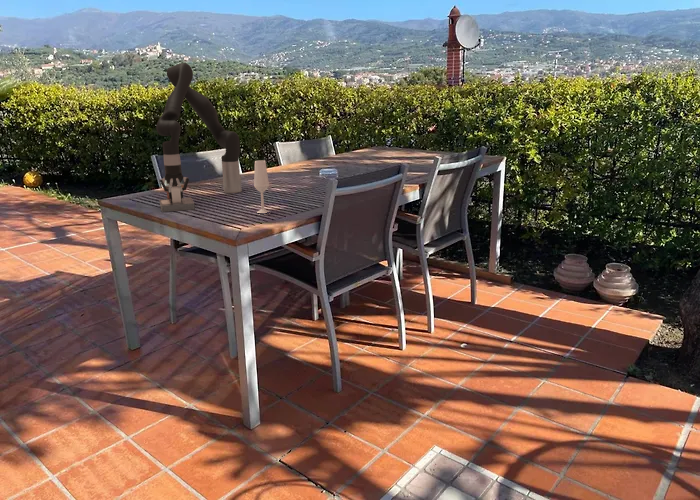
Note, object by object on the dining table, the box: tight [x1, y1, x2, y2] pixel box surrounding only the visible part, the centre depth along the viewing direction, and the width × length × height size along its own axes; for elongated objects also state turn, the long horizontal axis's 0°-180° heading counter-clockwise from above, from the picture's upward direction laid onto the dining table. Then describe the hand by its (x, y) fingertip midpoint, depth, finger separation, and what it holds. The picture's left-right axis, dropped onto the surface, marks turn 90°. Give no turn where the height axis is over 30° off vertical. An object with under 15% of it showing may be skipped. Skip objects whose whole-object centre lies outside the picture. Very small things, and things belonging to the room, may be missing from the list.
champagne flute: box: [253, 159, 270, 213], centre depth 233 cm, size 7×7×24 cm
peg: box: [171, 187, 181, 203], centre depth 246 cm, size 4×4×9 cm
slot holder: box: [159, 196, 196, 213], centre depth 247 cm, size 15×15×3 cm
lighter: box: [165, 181, 178, 199], centre depth 262 cm, size 8×3×10 cm, turn 71°
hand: (176, 199), depth 246 cm, fingers closed on peg, 3 cm apart
